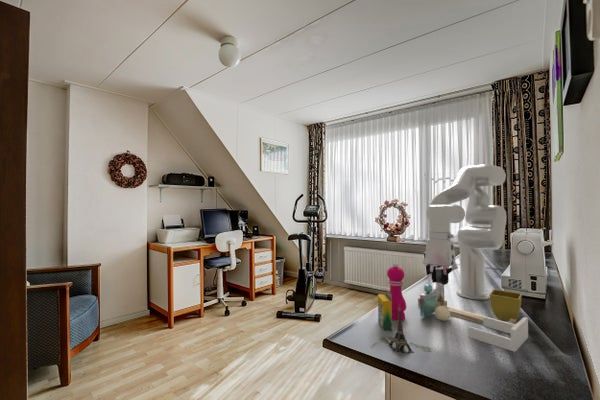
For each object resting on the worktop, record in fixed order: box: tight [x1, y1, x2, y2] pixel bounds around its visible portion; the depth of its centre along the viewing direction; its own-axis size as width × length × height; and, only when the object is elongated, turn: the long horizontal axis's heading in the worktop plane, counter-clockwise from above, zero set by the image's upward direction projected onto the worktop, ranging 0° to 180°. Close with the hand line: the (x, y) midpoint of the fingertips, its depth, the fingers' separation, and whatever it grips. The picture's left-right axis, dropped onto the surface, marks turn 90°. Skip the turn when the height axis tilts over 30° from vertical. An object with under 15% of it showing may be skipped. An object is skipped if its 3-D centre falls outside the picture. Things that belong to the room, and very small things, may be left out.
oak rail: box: [417, 297, 517, 325], centre depth 105 cm, size 4×32×3 cm, turn 39°
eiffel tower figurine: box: [370, 303, 433, 355], centre depth 82 cm, size 15×10×13 cm
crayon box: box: [377, 289, 393, 332], centre depth 96 cm, size 7×3×12 cm, turn 178°
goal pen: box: [467, 315, 529, 353], centre depth 89 cm, size 14×12×6 cm
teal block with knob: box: [419, 267, 448, 318], centre depth 108 cm, size 16×4×15 cm, turn 129°
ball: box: [434, 306, 451, 322], centre depth 102 cm, size 5×5×5 cm
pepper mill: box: [386, 262, 407, 322], centre depth 104 cm, size 7×7×20 cm
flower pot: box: [488, 289, 523, 322], centre depth 103 cm, size 9×9×9 cm
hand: (439, 282), depth 112 cm, fingers closed on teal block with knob, 3 cm apart
